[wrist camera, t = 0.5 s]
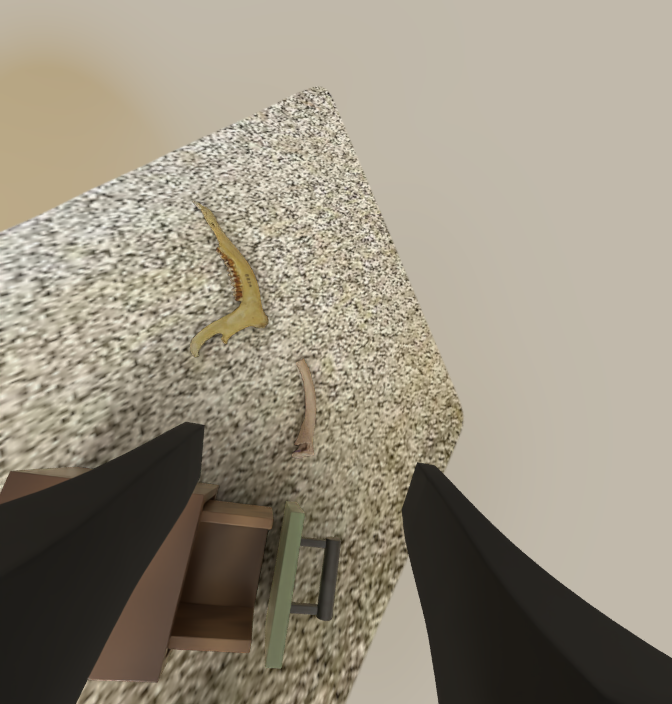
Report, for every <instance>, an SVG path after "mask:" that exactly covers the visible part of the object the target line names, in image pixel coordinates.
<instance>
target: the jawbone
mask: <svg viewBox="0 0 672 704" xmlns="http://www.w3.org/2000/svg"><path fill="white" fill-rule="evenodd" d="M193 203H194V205H196V206H197V207H198V208H199V209H201V211H202V213H203V215H204V217H205V220H206V222H207V223H208V224H209V226H210V227H211V228H212V230H213V231H214V233H215V235H216V237H217V240H218V241H219V247H218V248H217V249H216V251H217V252H218V253H219V254H220V257H221V258H222V259H223V260H224V261H225V262H224V264H225V265H226V266H227V267H228V269H227V271H228V272H229V274H228V275H229V276H230V277H231V278H230V280H231V281H232V283H231V285H232V286H233V287H234V288H233V289H232V291H233V292H234V294H233V296H234V297H235V300H236V301H242V302H241V304H240V306H239V307H238V308H237V309H235V310H234V311H233V312H232V313H230V314H228V315H226V316H224V317H222V318H221V319H219V320H217V321H215V322H213V323H211V324H209V325H208V326H206V327H205V328H203V329H202V330H201V331H200V332H199V333H198V334H197V335H196V336H194V337H193V339H192V340H191V343H190V351H191V353H192V355H193V356H194V357H198V356H199V350H200V348H201V347H202V345H203V344H204V343H205V342H206V341H207V340H208V339H210V338H211V337H213V336H214V335H215V334H217V333H221V334H223V336H222V337H221V340H222V341H223V343H225V344H227V341H228V339H229V338H230V337H231V336H232V335H233V334H235V333H236V332H238V331H240V330H241V329H244V328H246V327H249V326H254V327H255V328H265V327H266V326H267V324H268V321H269V320H268V317H267V316H266V315H265V313H264V312H263V309H262V304H261V299H260V291H259V287H258V283H257V280H256V277H255V275H254V273H253V270H252V268H251V267H250V265H249V264H248V262H247V261H246V259H245V258H244V257H243V256H242V254H241V253H240V252H239V251H238V249H237V248H236V247H235V246H234V245H233V244H232V242H231V241H230V240H229V239H228V238H227V236H226V235H225V233H224V232H223V231H222V229H221V228H220V226H219V224H218V223H217V221H216V218H215V216H214V215H213V213H212V212H211V211H210V210H209V209H208V208H206V207H204V206H202V205H201V204H200V203H198V202H196V201H193Z"/></svg>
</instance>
